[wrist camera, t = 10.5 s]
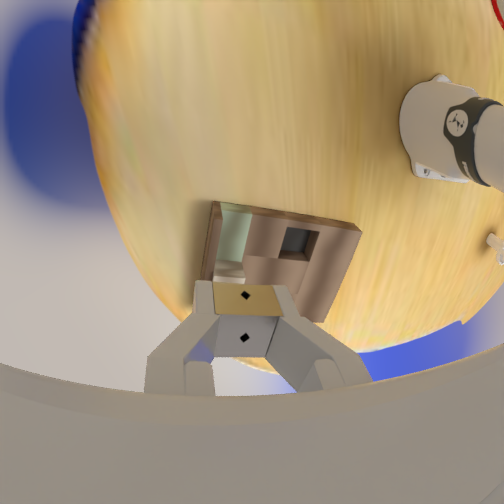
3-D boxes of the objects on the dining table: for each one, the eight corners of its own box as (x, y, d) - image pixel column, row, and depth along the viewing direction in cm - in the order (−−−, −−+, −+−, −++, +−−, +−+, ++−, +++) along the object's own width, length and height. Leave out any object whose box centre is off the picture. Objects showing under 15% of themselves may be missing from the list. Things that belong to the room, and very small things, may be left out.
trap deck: (353, 223, 43) (372, 241, 38) (318, 311, 52) (329, 334, 47) (212, 201, 38) (214, 218, 33) (196, 304, 46) (197, 330, 41)
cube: (241, 261, 40) (245, 278, 37) (236, 285, 42) (239, 302, 39) (212, 259, 39) (214, 275, 36) (209, 282, 41) (210, 300, 38)
